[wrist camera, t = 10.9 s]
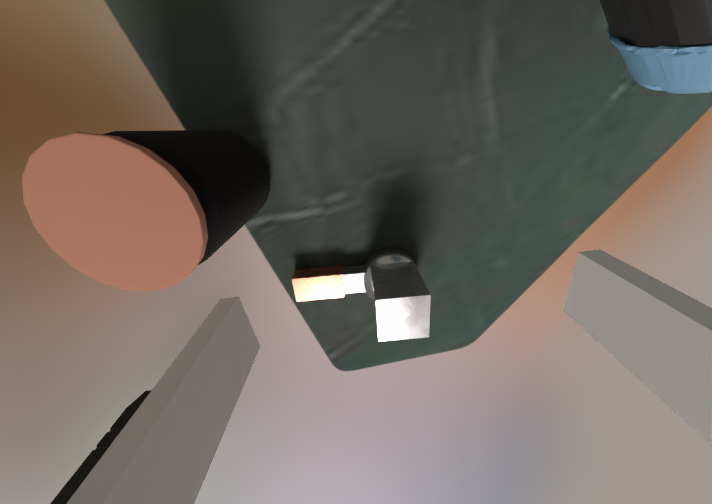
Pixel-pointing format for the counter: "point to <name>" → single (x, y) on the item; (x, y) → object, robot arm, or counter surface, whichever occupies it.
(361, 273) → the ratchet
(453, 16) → the counter surface
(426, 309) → the silver metal block
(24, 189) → the coffee jar
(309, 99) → the counter surface
